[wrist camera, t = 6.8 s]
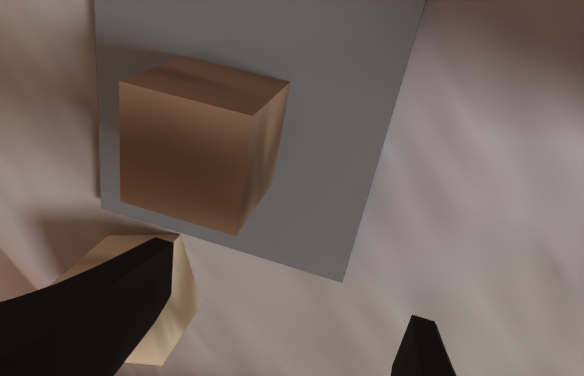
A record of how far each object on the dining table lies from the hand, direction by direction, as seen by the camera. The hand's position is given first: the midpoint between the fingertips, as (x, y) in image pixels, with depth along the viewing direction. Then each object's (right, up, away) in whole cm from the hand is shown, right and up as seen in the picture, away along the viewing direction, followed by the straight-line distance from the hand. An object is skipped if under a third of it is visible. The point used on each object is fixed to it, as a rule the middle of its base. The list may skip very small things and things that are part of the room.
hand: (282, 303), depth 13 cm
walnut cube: (-3, +6, +8) cm, 11 cm away
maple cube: (-8, -2, +15) cm, 17 cm away
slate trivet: (-2, +7, +9) cm, 11 cm away
